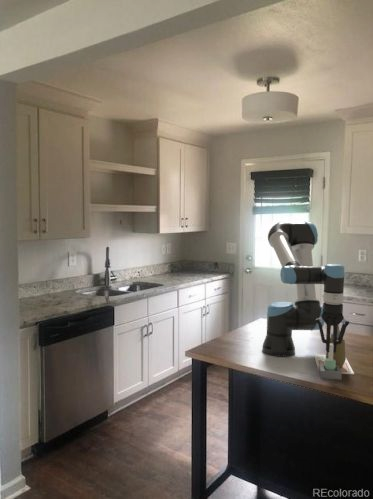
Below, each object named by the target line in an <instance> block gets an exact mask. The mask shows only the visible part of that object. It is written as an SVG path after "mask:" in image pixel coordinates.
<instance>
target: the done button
mask: <svg viewBox="0 0 373 499" xmlns="http://www.w3.org/2000/svg"><path fill="white" fill-rule="evenodd" d="M335 368H336V361H335V360H334V359H333V361H329V359H325V369H324V370H334V371H335Z"/></svg>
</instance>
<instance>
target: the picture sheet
mask: <svg viewBox="0 0 373 499" xmlns="http://www.w3.org/2000/svg"><path fill="white" fill-rule="evenodd" d="M313 358H314V361H315V364H316V368H317V370H318V368H319V364H325V359H326V354H316V353H314V354H313ZM340 369H341V372H342V375H355V372H354V371H353V368H352V367H351V365H350V363H349V361H348V359H347V358H346V360H345V362H344V365H343V367H342V368H340ZM318 372H319V370H318Z"/></svg>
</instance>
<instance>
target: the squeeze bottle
mask: <svg viewBox="0 0 373 499" xmlns="http://www.w3.org/2000/svg"><path fill="white" fill-rule="evenodd" d="M340 331H341V329H340V324H339V325H338V328H337V340H338V337H339V334H340ZM330 343H333V331H332V332H330ZM325 355H326V359H328V352H327V351H326V354H325ZM346 356H347V355H346V343H345V338H343V339H342V343H341V344H337V345H336V353H333V359H334V360H335V361H336V365H339V367H340V368H342V367H343V365H344V362H345V360H346V359H347V357H346Z"/></svg>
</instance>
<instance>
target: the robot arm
mask: <svg viewBox="0 0 373 499" xmlns="http://www.w3.org/2000/svg"><path fill="white" fill-rule="evenodd" d="M318 233H319V232H318V229H317V226H316V225H315V224H314V222H309V221H279V222H277V223H276V224H274V225H273V226H272V227H271V228H270V229H269V231H268V234H267V240H268V243H269V245H270V247H272V248H273V250H274V252H275V254H276V256H277V259H278V261H279V262H280V266H281V268H280V271H279V272H280V273H279V274H280V275H279V276H280V281H281V282H282V283H283V284H284V285H285V284H288V285H296V295H297V296H296V297H297V299H296V300H295V301H294V304H293V302H291V301H275V302H272V303H270V304H269V305H268V306H267V312H266V317H267V318H266V335H265V337H264V340H263V344H262V347H261V348H262V353H265V354H267V355H270V356H275V357H290V356H293V355H295V353H296V347H295V344H294V340H293V333H292V332H293V331H311V332H313V331H319V335H320V339H321V340H320V341H321V342H322V343H323V344H325V351H326V352H328V359H329V361H333V353H336V345H337V344H341V343H342V339H344V335H345V333H346V329H347V327H348V325H350V321H349V320H348V319H346V318H345V317H344V314H343V313H344V312H343V311H344V305H343V303H344V292H345V291H344V290H345V289H344V288H345V276H346V274H345V266H344V265H343V264H339V263H327V264H326V265H323V264H322V265H317V266H316V265H315V266H314V263H313V261H314V260H313V252H312V251H313V250H314V248H315V245H317V243H318V239H319V234H318ZM316 285H323V299H322V300H323V303H322V304H321V301H320V300H319V299H318V298H317V295H316ZM340 323H342V324H341V328H340V334H339V337H338V340H337V328H338V325H339V326H340ZM324 325H326V331H325V332H326V338H325V334H324ZM332 327H333V328H332ZM331 329H333V330H332V332H333V343H330V337H331Z"/></svg>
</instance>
